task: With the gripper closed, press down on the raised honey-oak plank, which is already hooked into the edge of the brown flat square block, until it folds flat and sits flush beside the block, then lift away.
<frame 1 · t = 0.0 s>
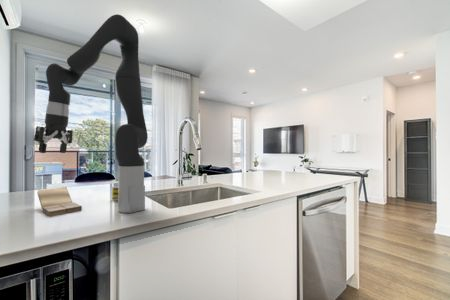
hand: (53, 152, 87), 22 cm above the counter, tool pointing down, fingers open, 8 cm apart
brown flat square block: (62, 210, 80), on the counter
supplement bottle: (117, 199, 99), on the counter
oak plank: (55, 197, 86), point 4 cm above the counter, hinge at 35.0°
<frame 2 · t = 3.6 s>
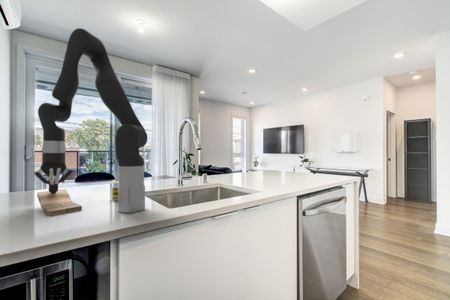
hand: (53, 193, 88), 5 cm above the counter, tool pointing down, fingers closed
oak plank: (54, 198, 86), point 3 cm above the counter, hinge at 28.3°, touching gripper
everything else where it was.
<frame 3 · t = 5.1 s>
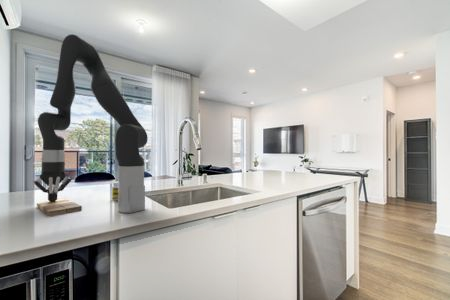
hand: (52, 201, 88), 2 cm above the counter, tool pointing down, fingers closed
oak plank: (54, 204, 87), point 1 cm above the counter, hinge at 1.3°, touching gripper
everything else where it was.
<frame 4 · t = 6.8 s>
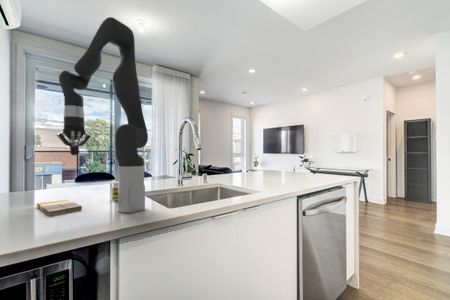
hand: (74, 155, 94), 21 cm above the counter, tool pointing down, fingers closed
oak plank: (54, 204, 87), point 1 cm above the counter, hinge at 1.2°
everything else where it was.
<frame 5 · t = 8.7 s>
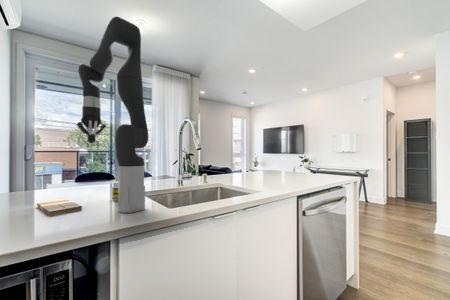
hand: (91, 142, 101), 27 cm above the counter, tool pointing down, fingers closed
nothing on the counter moved.
at the end: oak plank at +1° (first picture: +35°); supplement bottle moved 0.2 cm from its start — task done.
